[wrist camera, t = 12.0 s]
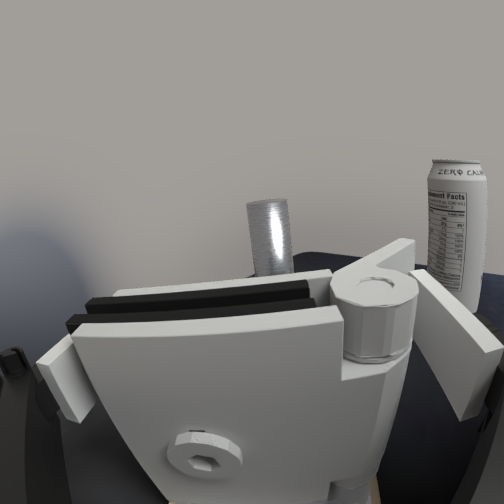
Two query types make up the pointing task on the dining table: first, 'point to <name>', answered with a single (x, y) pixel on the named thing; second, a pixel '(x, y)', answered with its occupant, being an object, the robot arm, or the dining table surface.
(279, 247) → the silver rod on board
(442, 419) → the dining table surface
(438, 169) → the energy drink can
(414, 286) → the hinge
